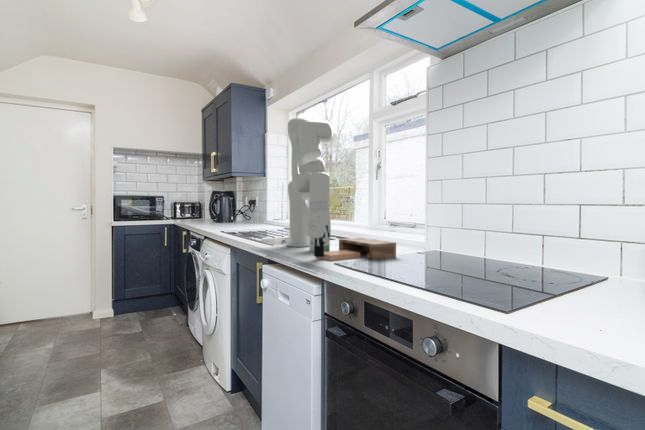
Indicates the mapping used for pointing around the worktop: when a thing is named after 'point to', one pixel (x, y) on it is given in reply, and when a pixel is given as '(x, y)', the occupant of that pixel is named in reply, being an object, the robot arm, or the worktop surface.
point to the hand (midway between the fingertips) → (319, 256)
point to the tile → (340, 255)
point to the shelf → (369, 247)
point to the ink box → (326, 247)
